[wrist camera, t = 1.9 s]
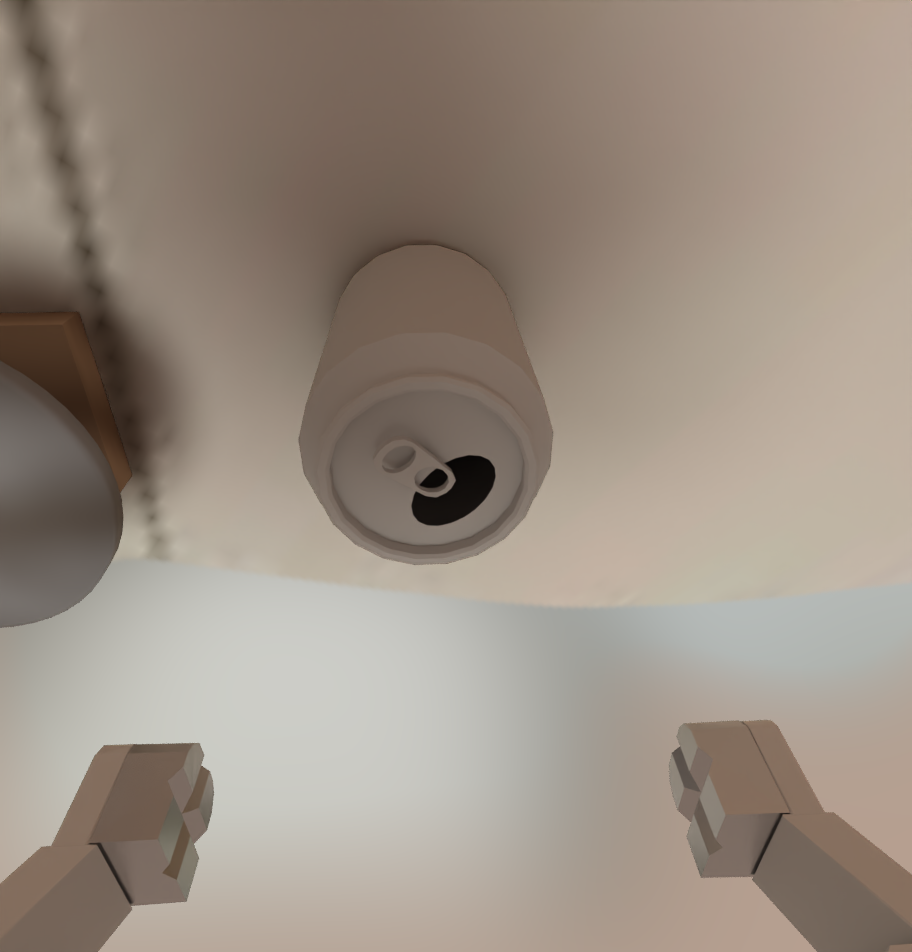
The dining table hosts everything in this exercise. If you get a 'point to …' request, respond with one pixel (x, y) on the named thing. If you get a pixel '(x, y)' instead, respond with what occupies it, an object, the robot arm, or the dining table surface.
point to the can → (425, 411)
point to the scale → (54, 468)
